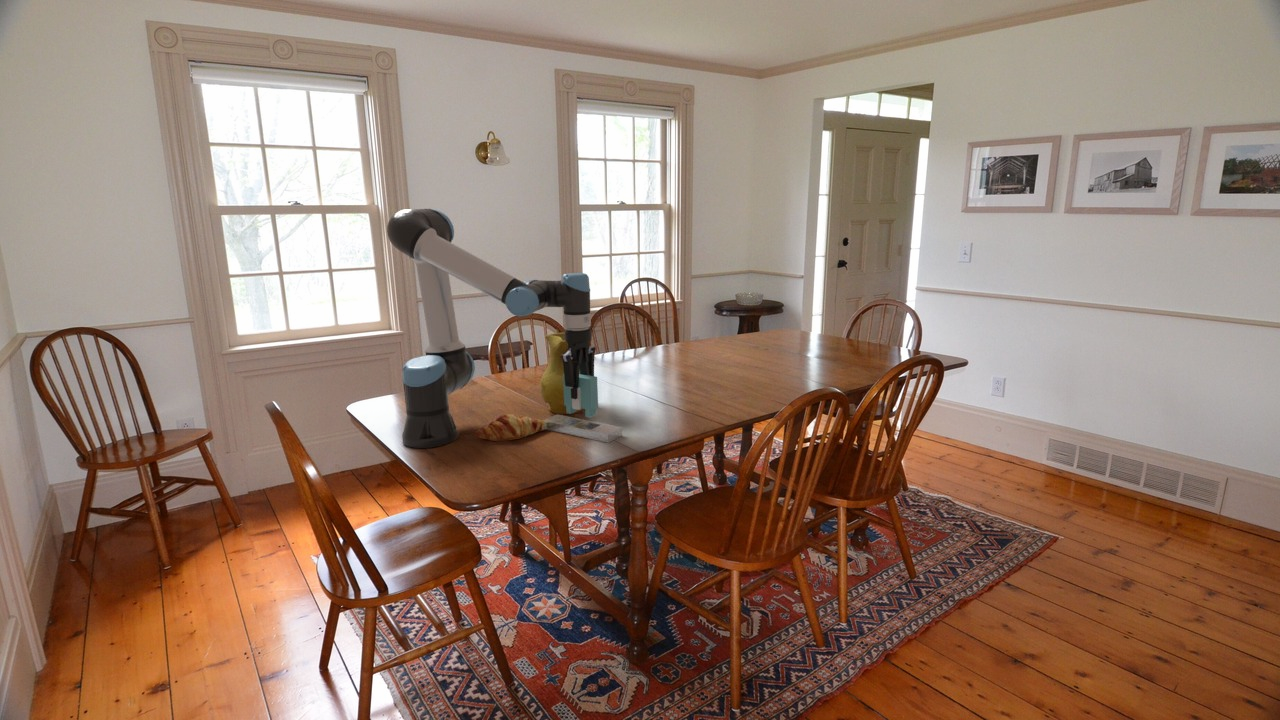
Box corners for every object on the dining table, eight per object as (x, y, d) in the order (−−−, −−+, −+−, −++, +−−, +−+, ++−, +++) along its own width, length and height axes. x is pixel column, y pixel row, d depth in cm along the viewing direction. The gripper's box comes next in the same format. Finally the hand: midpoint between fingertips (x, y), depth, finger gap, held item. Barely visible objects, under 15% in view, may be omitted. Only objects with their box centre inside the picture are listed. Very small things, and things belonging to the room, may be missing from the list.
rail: (608, 442, 182) (607, 434, 182) (542, 428, 195) (542, 420, 194) (622, 435, 188) (621, 427, 187) (557, 421, 201) (557, 414, 200)
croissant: (544, 438, 197) (539, 412, 199) (553, 431, 188) (548, 405, 190) (474, 449, 187) (469, 422, 189) (481, 443, 179) (476, 414, 180)
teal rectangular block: (591, 418, 186) (590, 379, 183) (564, 412, 191) (562, 374, 189) (598, 414, 189) (597, 376, 186) (571, 409, 194) (569, 372, 191)
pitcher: (529, 411, 210) (529, 335, 205) (562, 399, 226) (563, 328, 221) (573, 420, 202) (575, 341, 197) (604, 406, 219) (606, 333, 214)
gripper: (570, 334, 176) (573, 416, 181) (605, 324, 189) (607, 401, 194) (549, 331, 179) (552, 412, 185) (584, 322, 193) (587, 398, 198)
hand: (580, 406), depth 190 cm, fingers closed on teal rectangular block, 3 cm apart
